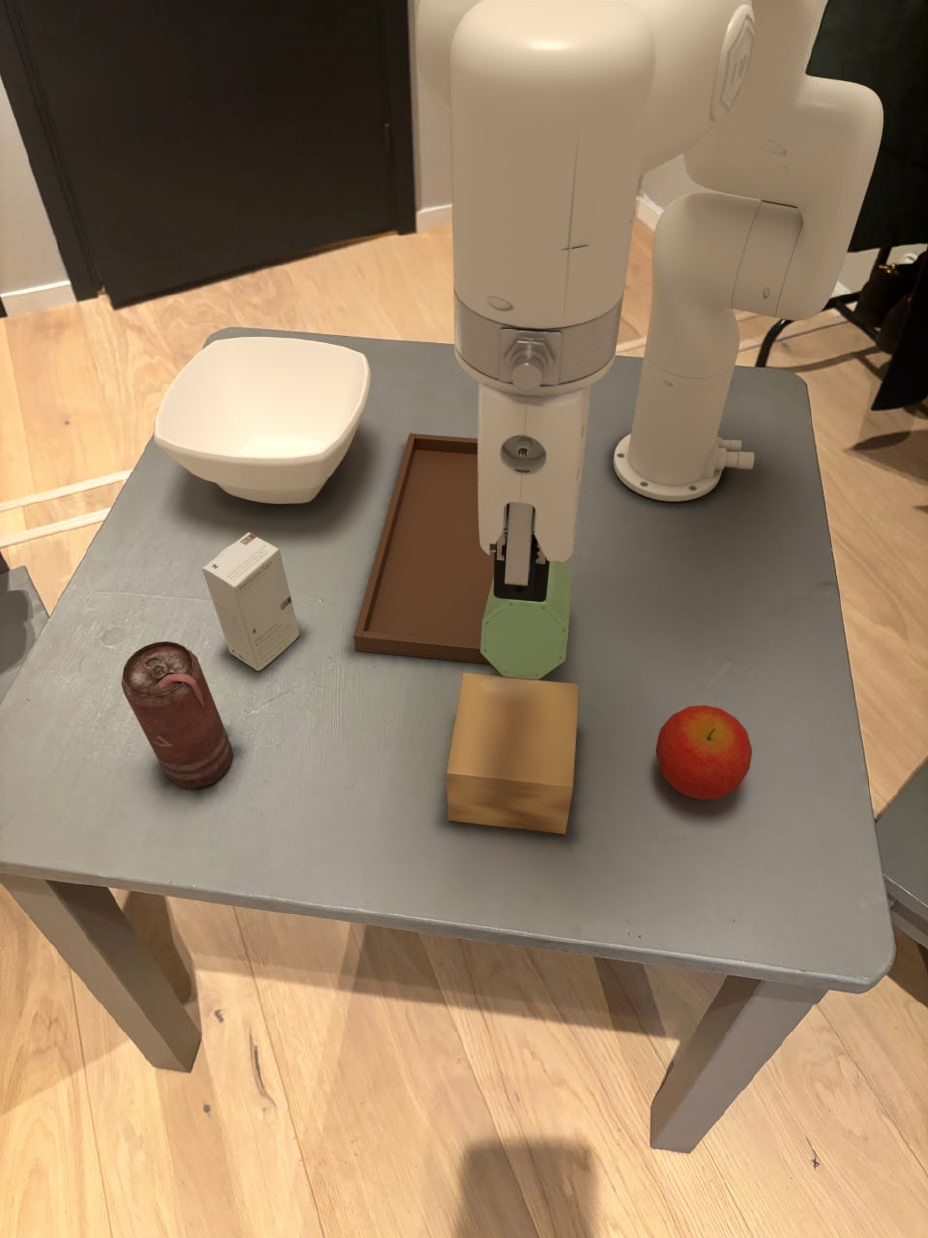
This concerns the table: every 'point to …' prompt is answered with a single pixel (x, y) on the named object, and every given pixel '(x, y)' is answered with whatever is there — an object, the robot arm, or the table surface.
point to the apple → (703, 752)
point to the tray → (430, 558)
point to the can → (177, 713)
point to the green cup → (529, 629)
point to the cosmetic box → (252, 600)
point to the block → (513, 753)
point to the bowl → (265, 415)
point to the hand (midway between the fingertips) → (520, 590)
